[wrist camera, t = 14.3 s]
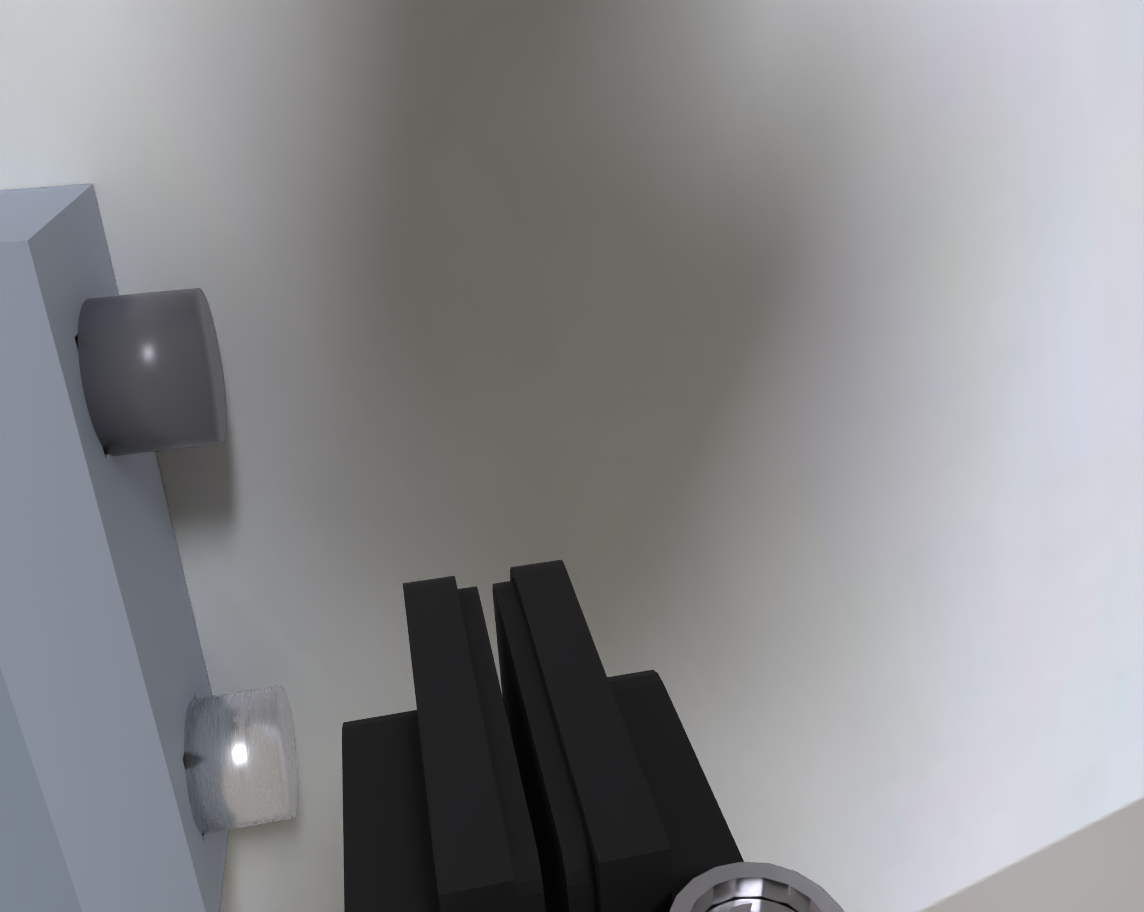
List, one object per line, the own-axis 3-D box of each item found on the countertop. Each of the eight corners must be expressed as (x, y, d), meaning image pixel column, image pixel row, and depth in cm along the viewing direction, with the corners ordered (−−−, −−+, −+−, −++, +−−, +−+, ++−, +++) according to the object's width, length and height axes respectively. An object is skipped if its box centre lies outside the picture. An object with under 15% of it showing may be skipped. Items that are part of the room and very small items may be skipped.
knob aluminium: (280, 659, 31) (274, 742, 28) (299, 758, 33) (295, 846, 30) (-61, 712, 30) (-111, 807, 26) (-23, 813, 31) (-65, 914, 28)
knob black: (204, 271, 26) (186, 313, 23) (231, 409, 28) (218, 468, 24) (-212, 308, 25) (-298, 361, 21) (-158, 454, 26) (-229, 523, 23)
